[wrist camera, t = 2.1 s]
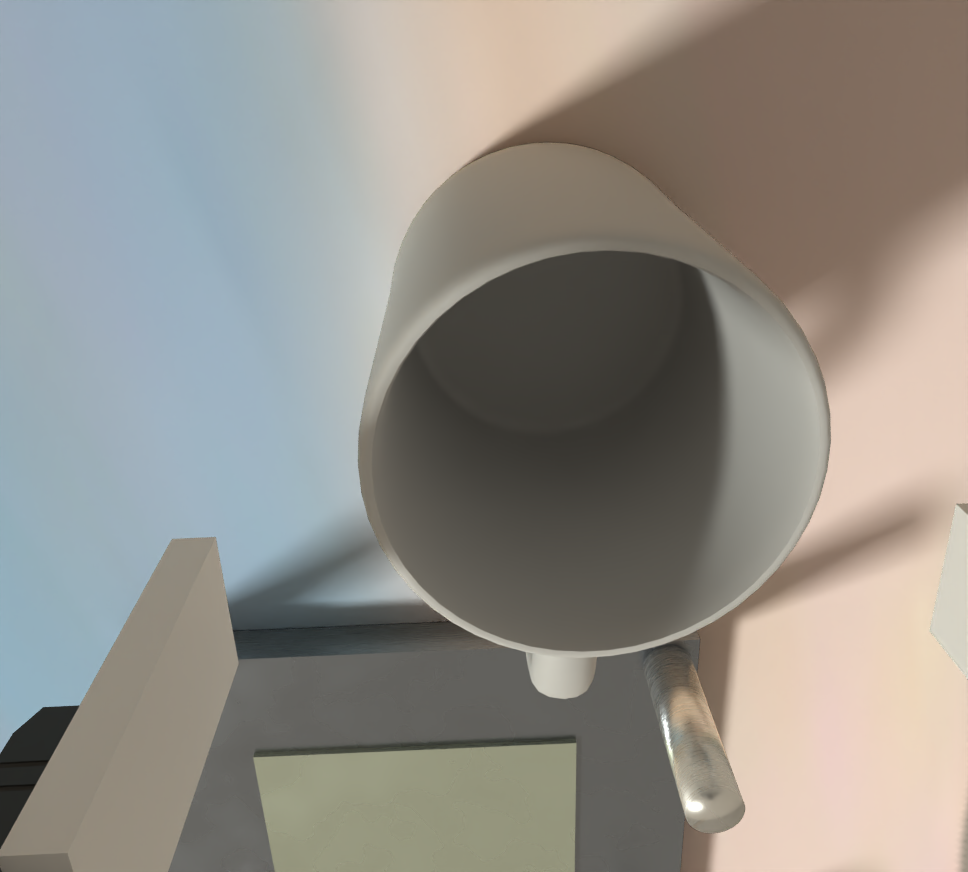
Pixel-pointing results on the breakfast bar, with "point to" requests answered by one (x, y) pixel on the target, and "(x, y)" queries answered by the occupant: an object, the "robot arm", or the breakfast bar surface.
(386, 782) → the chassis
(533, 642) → the mug
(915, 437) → the breakfast bar surface
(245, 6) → the breakfast bar surface
